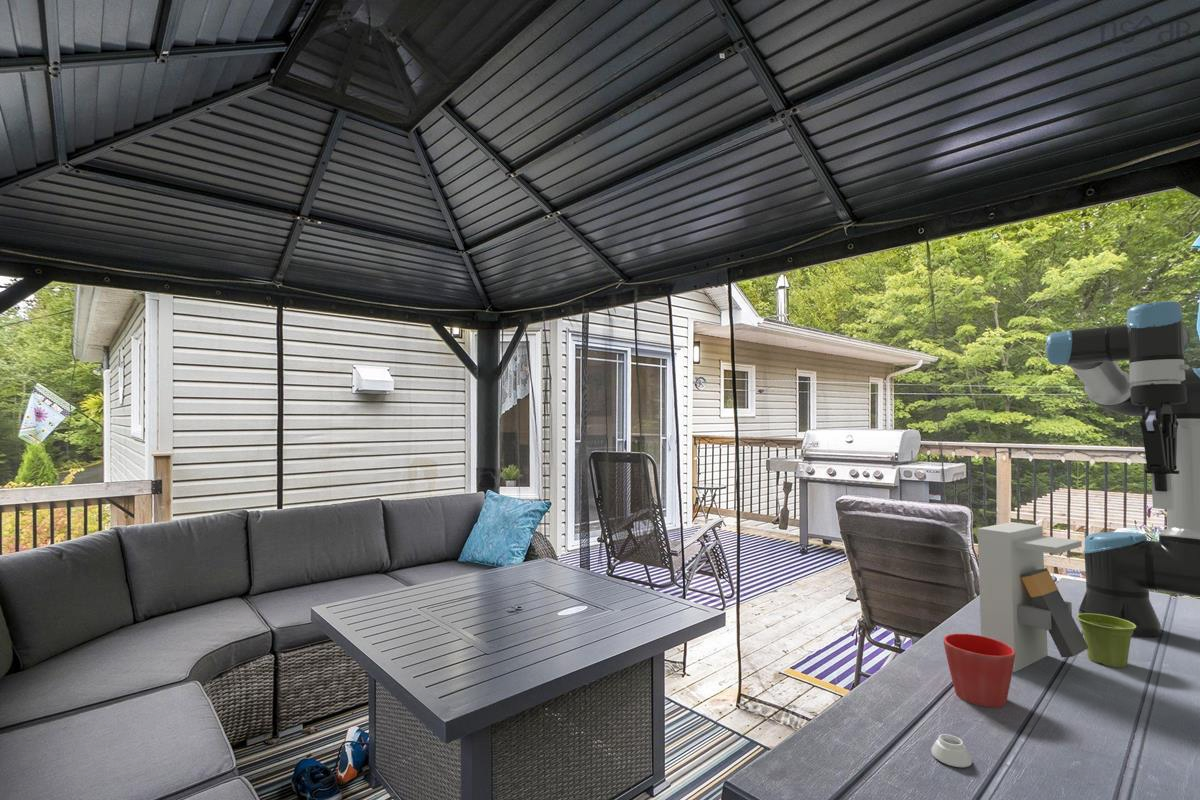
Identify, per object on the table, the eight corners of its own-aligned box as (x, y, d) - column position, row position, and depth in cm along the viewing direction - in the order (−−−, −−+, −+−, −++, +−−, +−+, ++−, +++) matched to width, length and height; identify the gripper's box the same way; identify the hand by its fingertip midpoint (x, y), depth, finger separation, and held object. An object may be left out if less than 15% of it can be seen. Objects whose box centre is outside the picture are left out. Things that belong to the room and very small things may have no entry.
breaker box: (1015, 646, 126) (1011, 522, 127) (1090, 667, 115) (1083, 530, 116) (982, 661, 117) (977, 528, 119) (1058, 686, 106) (1052, 538, 108)
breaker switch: (1077, 648, 113) (1036, 569, 120) (1089, 647, 112) (1047, 567, 118) (1061, 657, 109) (1019, 575, 115) (1073, 656, 107) (1030, 573, 114)
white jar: (976, 761, 82) (938, 746, 86) (975, 740, 82) (938, 726, 86) (964, 774, 79) (926, 758, 83) (964, 753, 79) (926, 738, 83)
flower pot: (996, 718, 94) (994, 660, 95) (932, 691, 104) (931, 638, 104) (1029, 704, 99) (1027, 649, 100) (965, 679, 109) (964, 629, 109)
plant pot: (1150, 673, 112) (1148, 629, 112) (1096, 669, 114) (1094, 626, 114) (1117, 655, 121) (1115, 614, 121) (1068, 651, 123) (1066, 611, 123)
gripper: (1175, 380, 99) (1182, 514, 97) (1195, 384, 106) (1202, 508, 104) (1119, 383, 105) (1125, 508, 104) (1141, 386, 112) (1147, 504, 111)
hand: (1164, 508), depth 104 cm, fingers closed
